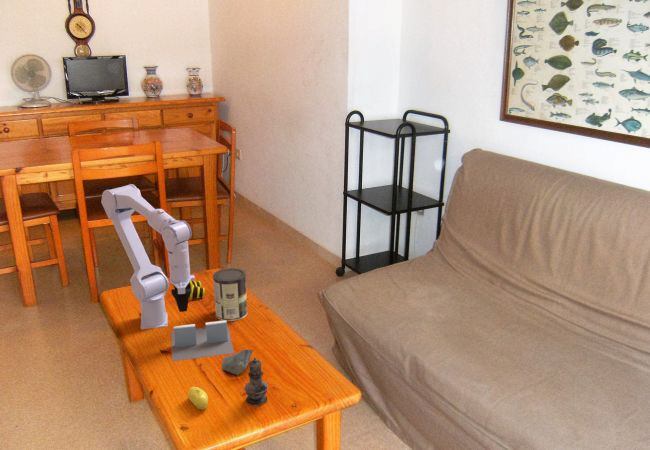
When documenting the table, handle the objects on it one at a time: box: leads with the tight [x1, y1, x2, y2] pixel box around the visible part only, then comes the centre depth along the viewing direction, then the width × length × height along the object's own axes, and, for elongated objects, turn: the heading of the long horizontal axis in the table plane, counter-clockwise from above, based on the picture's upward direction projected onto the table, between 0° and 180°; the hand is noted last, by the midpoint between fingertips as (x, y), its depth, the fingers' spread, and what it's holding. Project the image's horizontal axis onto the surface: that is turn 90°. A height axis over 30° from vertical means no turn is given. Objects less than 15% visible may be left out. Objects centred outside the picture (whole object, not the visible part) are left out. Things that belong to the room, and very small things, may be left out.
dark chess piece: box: [243, 357, 269, 407], centre depth 147 cm, size 6×6×12 cm
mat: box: [170, 324, 235, 362], centre depth 175 cm, size 17×17×1 cm
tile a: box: [173, 323, 197, 348], centre depth 173 cm, size 2×6×6 cm, turn 105°
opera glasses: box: [188, 280, 205, 301], centre depth 206 cm, size 10×5×5 cm, turn 25°
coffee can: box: [212, 267, 248, 322], centre depth 191 cm, size 10×10×14 cm
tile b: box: [205, 320, 228, 344], centre depth 175 cm, size 2×6×6 cm, turn 104°
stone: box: [221, 349, 254, 377], centre depth 162 cm, size 11×4×10 cm
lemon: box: [188, 386, 209, 410], centre depth 147 cm, size 4×8×4 cm, turn 29°
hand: (182, 306), depth 176 cm, fingers open, 6 cm apart
